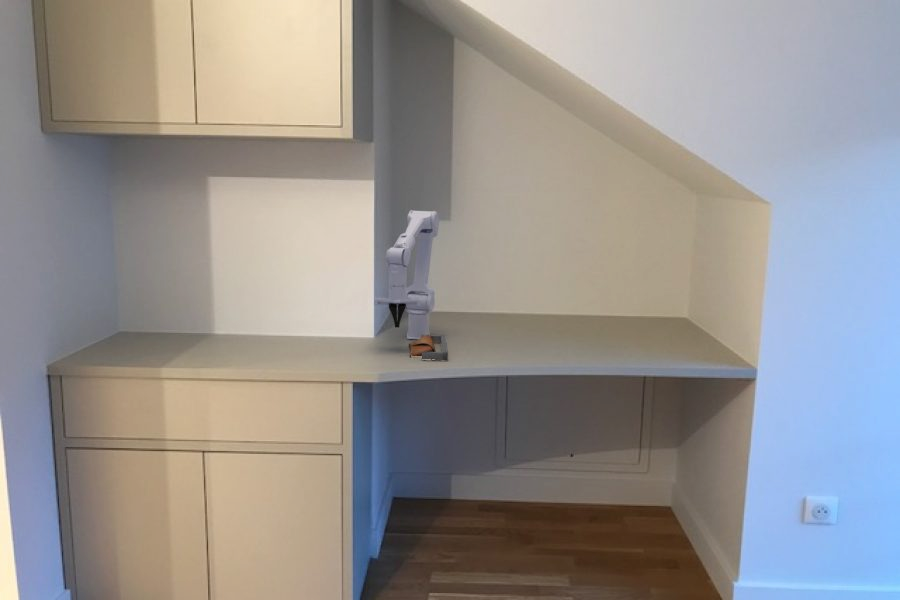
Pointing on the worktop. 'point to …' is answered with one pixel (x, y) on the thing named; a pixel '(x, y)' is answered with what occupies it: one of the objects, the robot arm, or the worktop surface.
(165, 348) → the worktop surface
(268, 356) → the worktop surface
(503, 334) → the worktop surface
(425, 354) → the keeper bracket
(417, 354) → the sunglasses case
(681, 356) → the worktop surface
